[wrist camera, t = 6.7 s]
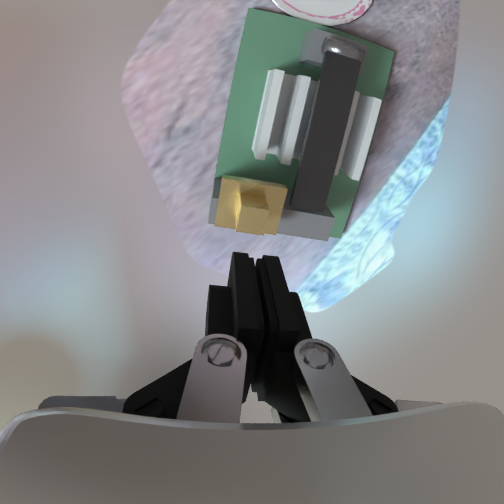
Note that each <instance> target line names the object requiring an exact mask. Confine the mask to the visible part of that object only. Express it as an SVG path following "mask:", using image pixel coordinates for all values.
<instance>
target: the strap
mask: <svg viewBox="0 0 504 504" xmlns="http://www.w3.org/2000/svg"><path fill="white" fill-rule="evenodd" d="M321 52H322V54H324V57H323V62H322V66H321V71H320V75H319V80H318V84H317V88H316V93H315V97H314V102H313V106H312V110H311V115H310V119H309V123H308V128H307V132H306V136H305V140H304V145H303V149H302V153H301V157H300V161H299V165H298V170H297V174H296V178H295V182H294V186H293V190H292V194H291V198H290V202H289V205H290V206H291V207H297V208H303V209H308V210H314V211H319V212H324V208H325V205H326V201H327V198H328V194H329V191H330V187H331V184H332V180H333V176H334V173H335V169H336V165H337V161H338V158H339V154H340V150H341V146H342V142H343V139H344V135H345V131H346V127H347V123H348V119H349V114H350V110H351V106H352V102H353V98H354V93H355V89H356V85H357V80H358V76H359V71H360V67H361V64H362V62H363V60H364V58H365V50H364V49H362V48H360V47H357V46H354V45H351V44H348V43H345V42H342V41H339V40H336V39H333V38H330V37H326V38H325V39H324V41H323V44H322V49H321Z"/></svg>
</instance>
